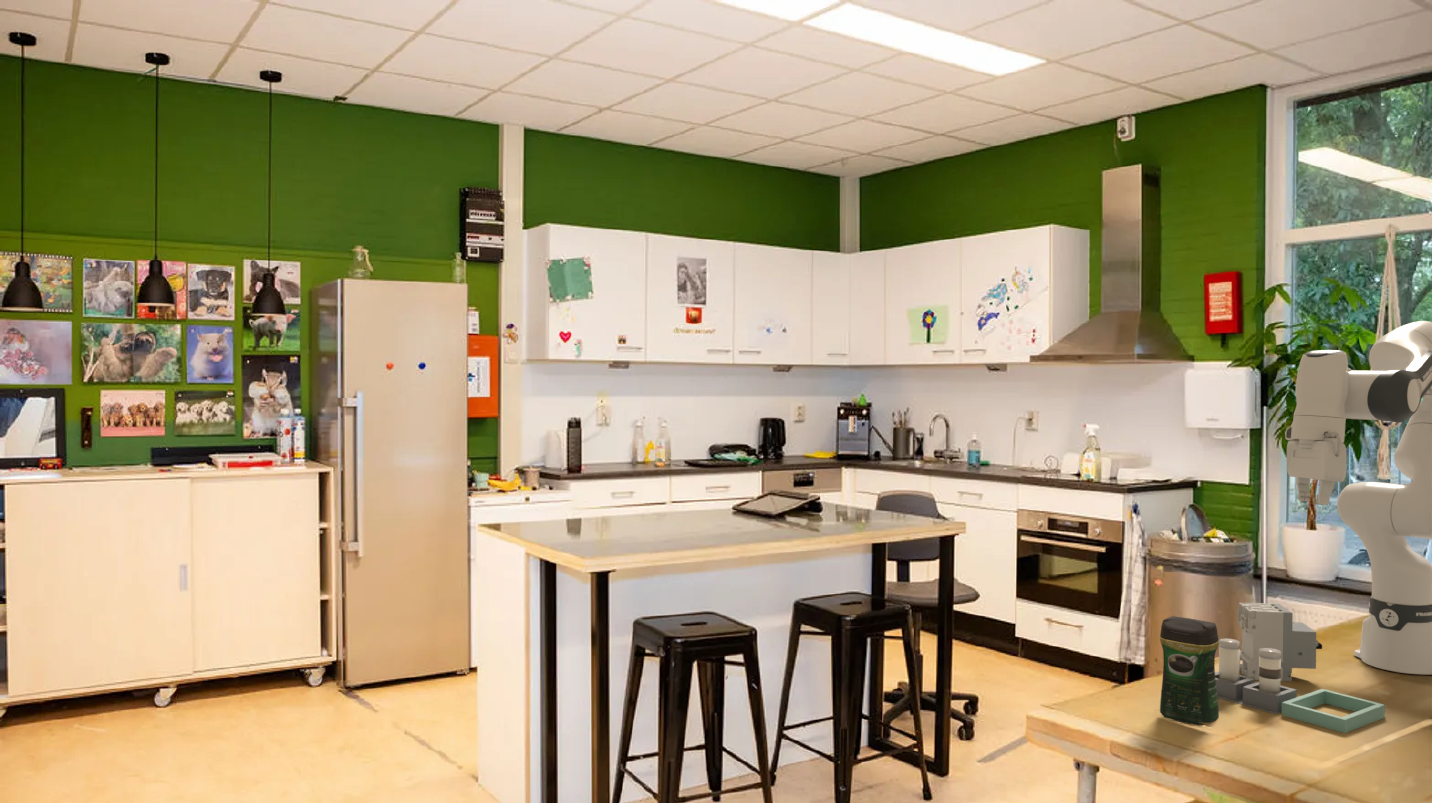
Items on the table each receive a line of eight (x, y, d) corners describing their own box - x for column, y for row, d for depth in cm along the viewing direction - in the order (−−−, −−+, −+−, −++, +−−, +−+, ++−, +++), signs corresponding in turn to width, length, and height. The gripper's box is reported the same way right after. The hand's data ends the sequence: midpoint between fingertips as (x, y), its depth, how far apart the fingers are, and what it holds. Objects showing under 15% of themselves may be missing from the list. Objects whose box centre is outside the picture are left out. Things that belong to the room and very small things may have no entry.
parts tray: (1322, 705, 195) (1322, 688, 195) (1384, 722, 186) (1384, 704, 186) (1281, 720, 188) (1281, 702, 188) (1344, 738, 178) (1345, 720, 178)
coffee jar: (1224, 719, 189) (1225, 619, 188) (1207, 730, 183) (1208, 627, 182) (1171, 707, 196) (1171, 610, 195) (1153, 717, 190) (1154, 618, 189)
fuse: (1225, 688, 203) (1226, 637, 203) (1243, 693, 200) (1243, 641, 199) (1214, 691, 201) (1215, 640, 201) (1232, 696, 198) (1233, 644, 198)
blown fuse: (1265, 699, 196) (1265, 646, 196) (1284, 704, 193) (1285, 651, 193) (1254, 703, 194) (1255, 649, 194) (1273, 708, 191) (1274, 654, 191)
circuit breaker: (1324, 687, 206) (1325, 613, 205) (1247, 684, 209) (1248, 611, 208) (1311, 676, 213) (1312, 605, 213) (1237, 673, 216) (1237, 602, 216)
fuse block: (1225, 688, 206) (1225, 669, 206) (1301, 709, 193) (1301, 689, 193) (1198, 697, 201) (1198, 677, 201) (1274, 719, 188) (1274, 697, 188)
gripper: (1358, 433, 189) (1353, 508, 189) (1315, 433, 209) (1310, 501, 209) (1321, 430, 190) (1315, 505, 190) (1282, 430, 210) (1277, 498, 210)
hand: (1312, 503), depth 199 cm, fingers open, 8 cm apart
